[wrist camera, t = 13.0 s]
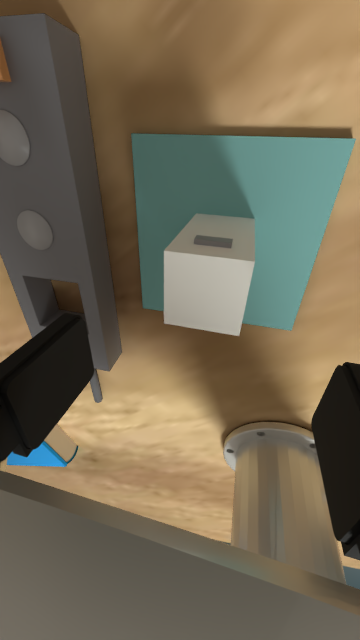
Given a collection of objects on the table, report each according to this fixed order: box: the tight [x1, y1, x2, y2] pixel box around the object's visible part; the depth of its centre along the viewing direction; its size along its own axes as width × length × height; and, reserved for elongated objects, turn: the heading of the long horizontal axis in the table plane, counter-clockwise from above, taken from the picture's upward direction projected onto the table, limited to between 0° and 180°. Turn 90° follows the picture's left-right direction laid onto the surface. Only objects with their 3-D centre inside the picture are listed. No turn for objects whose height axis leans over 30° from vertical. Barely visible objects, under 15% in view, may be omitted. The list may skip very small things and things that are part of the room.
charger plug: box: [164, 213, 255, 336], centre depth 15 cm, size 4×4×8 cm
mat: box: [131, 133, 356, 330], centre depth 19 cm, size 13×13×1 cm
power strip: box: [0, 13, 122, 403], centre depth 23 cm, size 33×8×4 cm, turn 179°
